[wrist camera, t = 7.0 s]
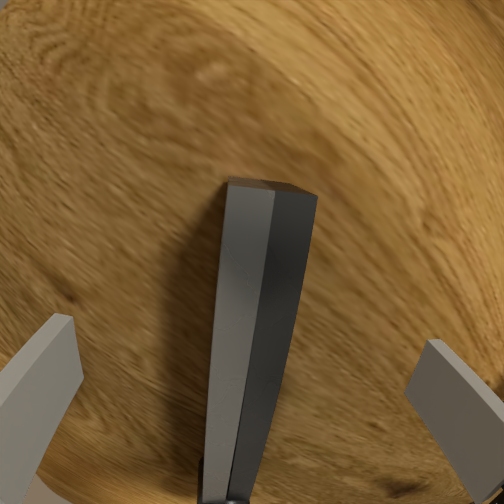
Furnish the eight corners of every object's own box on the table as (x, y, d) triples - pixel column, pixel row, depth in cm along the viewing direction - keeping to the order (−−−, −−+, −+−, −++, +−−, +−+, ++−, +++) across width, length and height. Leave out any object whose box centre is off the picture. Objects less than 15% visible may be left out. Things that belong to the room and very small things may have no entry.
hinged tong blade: (223, 452, 20) (224, 503, 16) (204, 451, 20) (202, 502, 15) (259, 179, 15) (275, 190, 10) (228, 176, 14) (228, 185, 10)
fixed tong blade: (243, 476, 22) (248, 530, 16) (198, 474, 22) (196, 529, 16) (297, 184, 15) (338, 201, 9) (216, 174, 15) (208, 185, 9)
